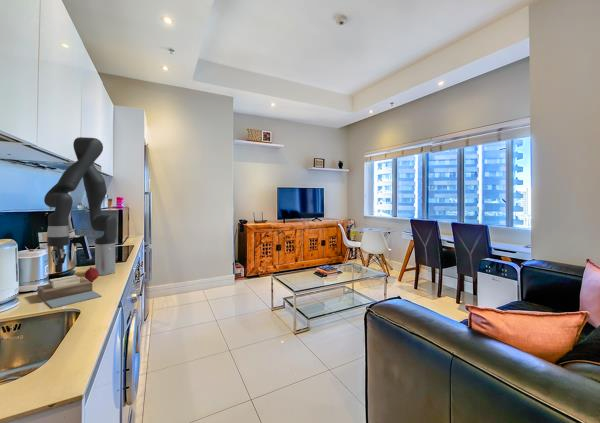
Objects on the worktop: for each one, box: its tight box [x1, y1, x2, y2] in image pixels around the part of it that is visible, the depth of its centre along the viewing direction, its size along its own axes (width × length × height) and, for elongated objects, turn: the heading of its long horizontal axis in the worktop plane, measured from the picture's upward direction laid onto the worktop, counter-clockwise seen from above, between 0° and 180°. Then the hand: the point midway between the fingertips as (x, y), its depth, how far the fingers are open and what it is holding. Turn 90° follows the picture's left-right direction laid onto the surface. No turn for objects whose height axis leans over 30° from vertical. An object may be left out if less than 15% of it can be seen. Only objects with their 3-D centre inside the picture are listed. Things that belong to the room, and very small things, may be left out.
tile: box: [49, 274, 81, 288], centre depth 119 cm, size 6×9×2 cm, turn 145°
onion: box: [84, 265, 100, 283], centre depth 135 cm, size 6×6×8 cm
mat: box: [45, 290, 102, 309], centre depth 112 cm, size 10×16×1 cm, turn 145°
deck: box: [37, 277, 93, 303], centre depth 118 cm, size 12×16×4 cm
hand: (58, 272), depth 123 cm, fingers closed
